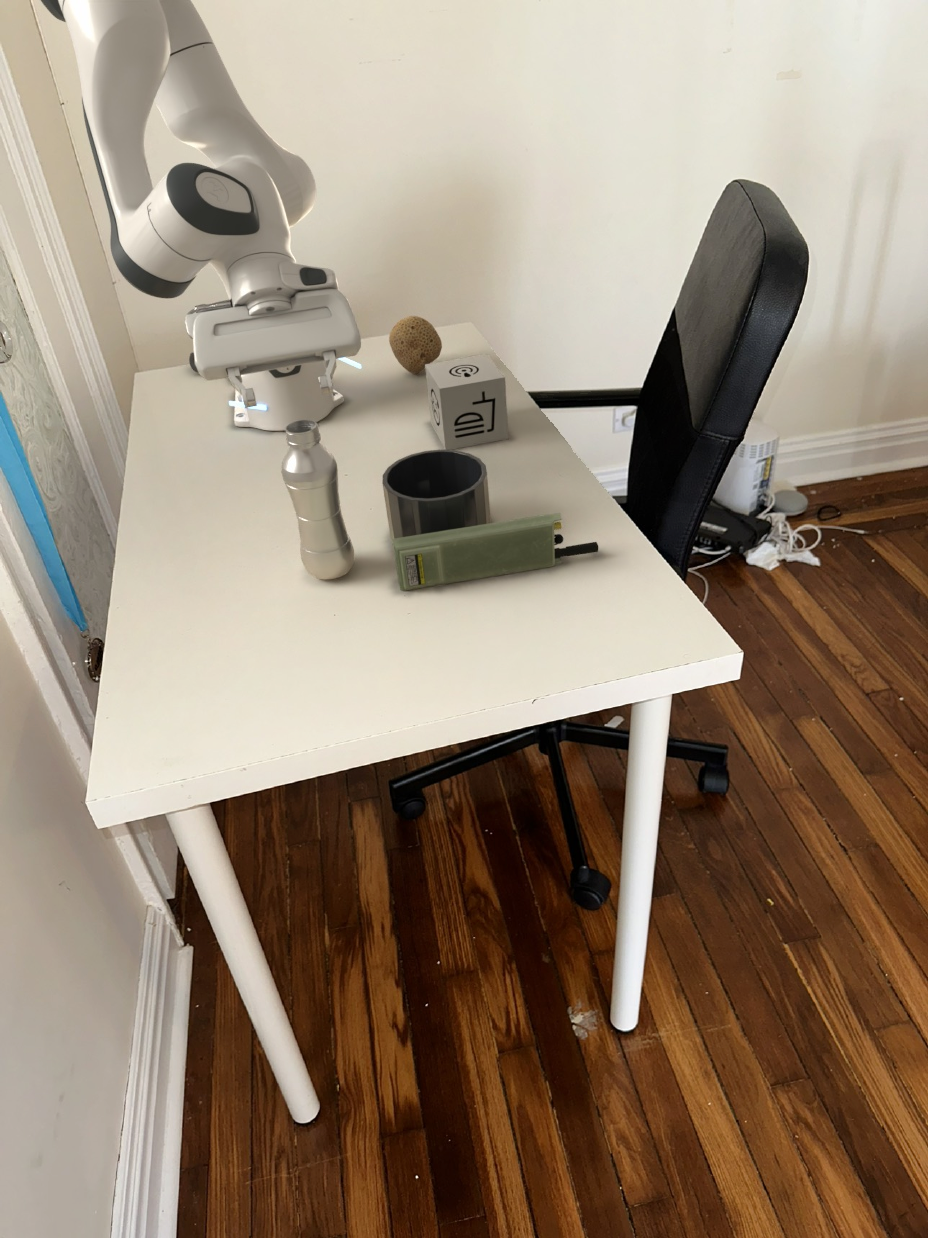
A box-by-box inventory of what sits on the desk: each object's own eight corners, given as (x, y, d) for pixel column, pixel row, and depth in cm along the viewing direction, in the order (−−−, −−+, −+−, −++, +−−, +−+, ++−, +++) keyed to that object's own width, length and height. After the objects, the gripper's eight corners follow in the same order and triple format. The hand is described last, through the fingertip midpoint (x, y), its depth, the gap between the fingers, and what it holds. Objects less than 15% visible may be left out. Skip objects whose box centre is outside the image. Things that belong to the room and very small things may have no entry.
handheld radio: (398, 579, 114) (593, 547, 116) (401, 595, 111) (601, 562, 113) (391, 534, 109) (594, 502, 112) (394, 550, 107) (602, 517, 109)
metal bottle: (348, 587, 113) (320, 439, 101) (297, 584, 114) (263, 438, 102) (363, 558, 118) (338, 414, 106) (314, 555, 119) (283, 413, 107)
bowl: (378, 523, 125) (369, 464, 119) (469, 499, 128) (464, 441, 122) (409, 572, 115) (401, 510, 109) (506, 545, 118) (503, 483, 112)
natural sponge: (432, 358, 170) (426, 304, 164) (452, 373, 163) (447, 318, 157) (386, 369, 167) (379, 315, 161) (405, 386, 161) (398, 330, 155)
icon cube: (508, 438, 142) (505, 377, 136) (445, 450, 140) (439, 388, 134) (491, 413, 149) (487, 353, 143) (431, 423, 148) (425, 364, 142)
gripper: (176, 294, 109) (198, 403, 107) (346, 267, 112) (370, 373, 110) (187, 319, 115) (207, 423, 113) (347, 293, 118) (370, 394, 116)
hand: (289, 398), depth 112 cm, fingers open, 8 cm apart
